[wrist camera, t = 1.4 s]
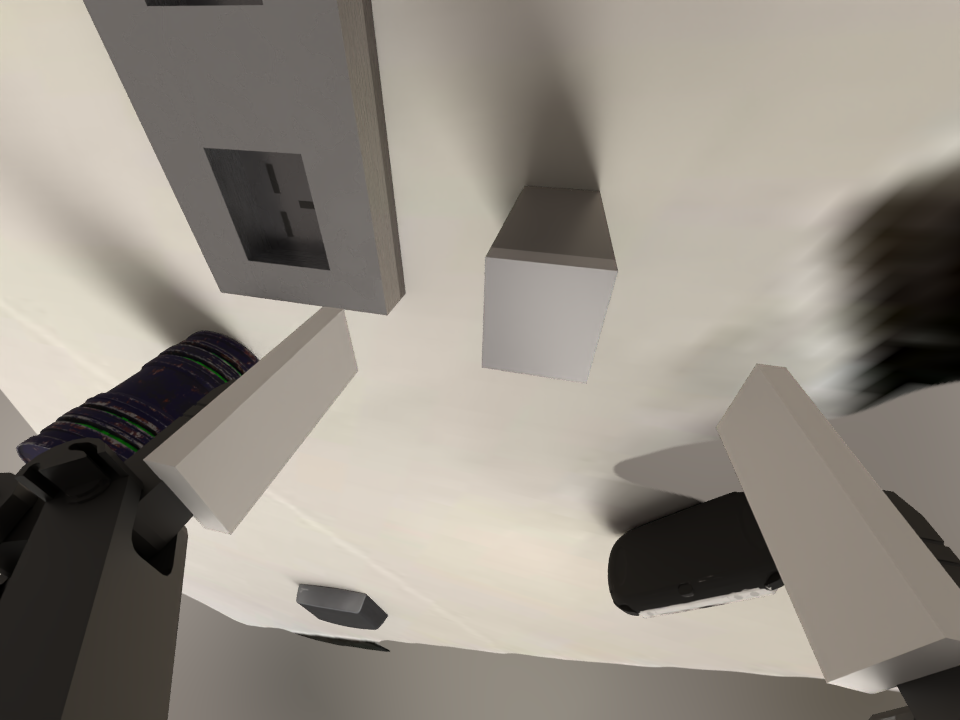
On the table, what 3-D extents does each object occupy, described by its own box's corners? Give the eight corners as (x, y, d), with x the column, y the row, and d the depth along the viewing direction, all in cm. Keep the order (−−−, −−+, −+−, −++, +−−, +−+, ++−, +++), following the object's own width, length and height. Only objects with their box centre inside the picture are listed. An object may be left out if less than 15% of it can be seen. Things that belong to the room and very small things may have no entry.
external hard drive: (298, 580, 84) (287, 599, 80) (365, 590, 77) (356, 611, 74) (326, 603, 91) (317, 622, 87) (390, 614, 84) (383, 635, 81)
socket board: (325, -381, 12) (254, -515, 10) (405, 293, 28) (387, 315, 25) (16, -320, 14) (-114, -415, 12) (252, 274, 30) (221, 292, 28)
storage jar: (248, 333, 35) (86, 453, 23) (285, 404, 41) (171, 528, 29) (168, 326, 37) (-17, 434, 25) (215, 395, 43) (82, 508, 31)
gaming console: (602, 533, 43) (617, 545, 43) (600, 614, 36) (619, 627, 36) (764, 470, 32) (783, 486, 32) (810, 570, 24) (834, 590, 25)
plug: (599, 191, 21) (617, 271, 12) (582, 270, 24) (586, 383, 15) (524, 185, 22) (485, 256, 12) (517, 263, 25) (481, 367, 15)
